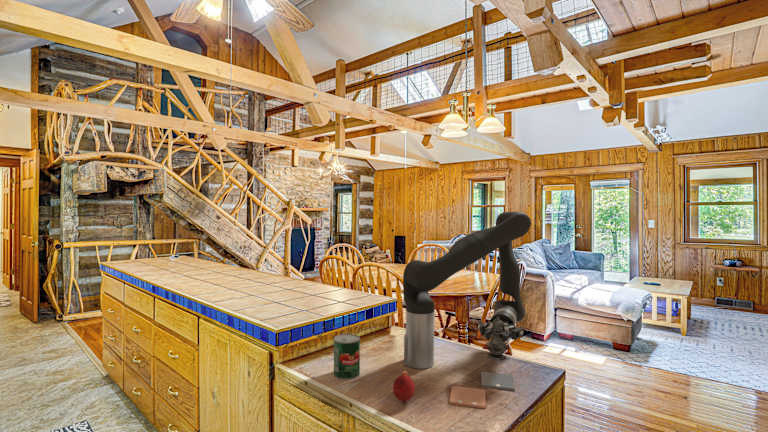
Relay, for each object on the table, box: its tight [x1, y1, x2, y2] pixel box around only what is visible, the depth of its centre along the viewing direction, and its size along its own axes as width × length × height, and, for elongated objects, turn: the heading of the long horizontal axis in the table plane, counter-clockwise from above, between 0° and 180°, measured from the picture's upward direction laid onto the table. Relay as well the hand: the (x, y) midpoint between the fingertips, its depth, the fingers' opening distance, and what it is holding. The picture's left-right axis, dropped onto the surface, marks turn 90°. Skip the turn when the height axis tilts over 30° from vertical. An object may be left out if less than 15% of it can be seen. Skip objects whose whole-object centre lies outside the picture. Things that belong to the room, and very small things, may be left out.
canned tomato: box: [333, 333, 361, 381], centre depth 115 cm, size 8×8×11 cm
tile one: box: [480, 371, 516, 392], centre depth 111 cm, size 9×9×1 cm
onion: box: [392, 370, 416, 403], centre depth 99 cm, size 6×6×8 cm
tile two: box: [448, 385, 487, 409], centre depth 102 cm, size 9×9×1 cm
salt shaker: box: [486, 316, 508, 362], centre depth 111 cm, size 6×6×12 cm
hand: (495, 337), depth 109 cm, fingers closed on salt shaker, 3 cm apart
